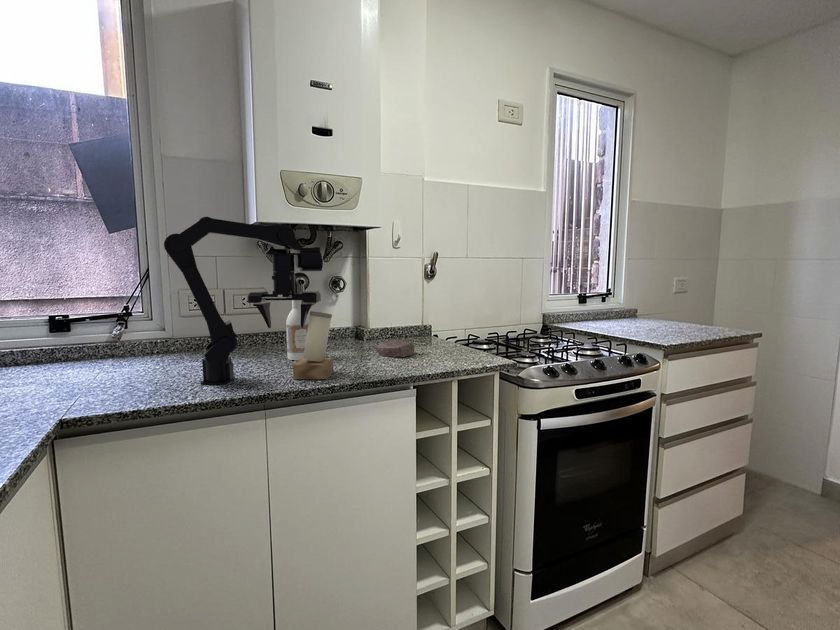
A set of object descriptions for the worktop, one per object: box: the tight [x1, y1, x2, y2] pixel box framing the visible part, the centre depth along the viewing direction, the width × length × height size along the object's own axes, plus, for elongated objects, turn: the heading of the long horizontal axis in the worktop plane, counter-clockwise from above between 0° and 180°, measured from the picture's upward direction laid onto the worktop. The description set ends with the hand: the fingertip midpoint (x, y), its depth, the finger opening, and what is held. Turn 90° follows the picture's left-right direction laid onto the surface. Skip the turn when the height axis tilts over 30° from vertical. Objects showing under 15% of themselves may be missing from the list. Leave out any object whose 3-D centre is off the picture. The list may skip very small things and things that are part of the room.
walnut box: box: [292, 357, 335, 380], centre depth 121 cm, size 9×9×4 cm
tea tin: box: [303, 310, 333, 362], centre depth 121 cm, size 6×6×13 cm
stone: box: [375, 339, 416, 358], centre depth 148 cm, size 12×9×5 cm
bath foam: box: [285, 300, 309, 362], centre depth 141 cm, size 7×7×20 cm
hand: (286, 327), depth 122 cm, fingers open, 9 cm apart
